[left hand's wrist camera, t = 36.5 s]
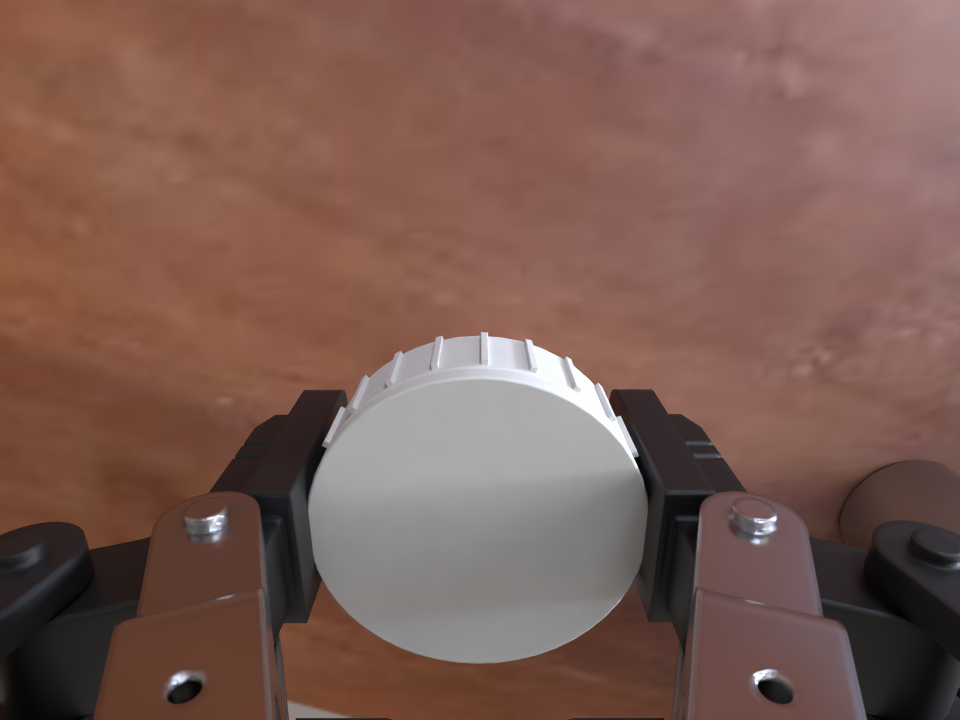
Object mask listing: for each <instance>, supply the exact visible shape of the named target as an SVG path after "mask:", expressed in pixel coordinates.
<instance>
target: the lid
mask: <svg viewBox="0 0 960 720" xmlns="http://www.w3.org/2000/svg"><path fill="white" fill-rule="evenodd" d="M322 446H323V447H325V448H327V449H326V451H325V454H324V456H323V458H322V460H321V462H320V464H319V466H318V469H317V471H316V473H315V475H314V478H313V481H312V485H311V488H310V492H309V496H308V513H309V522H310V530H311V538H312V547H313V555H314V562H315V565H316V568H317V570H318V572H319V574H320V576H321V578H322V580H323V582H324V584H325V586H326V587H327V589H328V590H329V591H330V593H331V594H332V596H333V597H334V598H335V600H336V601H337V602H338V603H339V604H340V605H341V606H342V608H343V609H344V610H345V611H346V612H347V613H348V614H349V615H350V616H351V617H352V618H354V619H355V620H356V621H357V622H358V623H360V624H361V625H362V626H363V627H364V628H366V629H367V630H369V631H370V632H372V633H374V634H375V635H377V636H378V637H380V638H381V639H383V640H385V641H387V642H389V643H391V644H393V645H395V646H397V647H399V648H402V649H405V650H407V651H410V652H413V653H415V654H418V655H422V656H426V657H430V658H434V659H438V660H444V661H451V662H458V663H476V664H479V663H499V662H506V661H513V660H519V659H523V658H527V657H531V656H535V655H538V654H541V653H544V652H547V651H549V650H552V649H555V648H557V647H559V646H561V645H563V644H565V643H567V642H569V641H572V640H574V639H575V638H577V637H578V636H580V635H581V634H583V633H585V632H586V631H588V630H589V629H591V628H592V627H593V626H594V625H596V624H597V623H598V622H599V621H601V620H602V619H603V618H604V617H605V616H606V615H607V614H608V613H609V612H610V611H611V610H612V609H613V608H614V607H615V606H616V605H617V604H618V603H619V602H620V600H621V599H622V597H623V596H624V595H625V593H626V592H627V591H628V589H629V588H630V586H631V584H632V582H633V581H634V579H635V577H636V575H637V573H638V571H639V569H640V566H641V563H642V557H643V549H644V541H645V532H646V523H647V515H648V495H647V492H646V488H645V484H644V481H643V478H642V475H641V473H640V471H639V469H638V466H637V464H636V462H635V460H634V458H635V457H638V456H639V455H638V452H637V450H636V448H635V446H634V444H633V442H632V439H631V437H630V435H629V433H628V431H627V429H626V427H625V425H624V422H623V420H622V418H621V416H618V417H615V415H614V412H613V410H612V408H611V406H610V403H609V401H608V399H607V397H606V395H605V392H604V390H603V388H602V386H601V385H600V384H599V383H598V384H596V385H595V386H594V384H593V383H592V382H591V381H590V380H589V379H588V378H587V377H586V376H584V375H583V374H582V373H581V372H580V371H579V370H578V369H576V368H575V367H574V366H573V363H572V361H571V359H569V358H568V357H565V358H564V360H563V359H562V358H560V357H558V356H556V355H554V354H552V353H550V352H548V351H546V350H544V349H542V348H539V347H536V346H533V344H532V341H531V340H528V339H525V342H521V341H516V340H511V339H506V338H501V337H488V333H487V332H481V336H469V337H456V338H451V339H445V340H443V336H440V337H436V340H435V342H433V343H429V344H426V345H423V346H420V347H417V348H415V349H413V350H411V351H409V352H406V353H404V354H402V352H401V351H399V352H397V353H395V355H394V358H393V360H392V361H390V362H389V363H387V364H386V365H384V366H383V367H382V368H380V369H379V370H378V371H377V372H376V373H374V374H373V375H372V376H371V377H370V378H369V377H367V376H366V375H365V376H364V377H363V378H362V380H361V382H360V384H359V386H358V388H357V391H356V393H355V395H354V396H353V398H352V399H351V401H350V402H349V404H348V405H347V407H346V409H345V408H343V407H340V409H339V411H338V413H337V415H336V417H335V419H334V421H333V424H332V426H331V428H330V430H329V432H328V434H327V436H326V438H325V440H324V442H323V444H322Z"/></svg>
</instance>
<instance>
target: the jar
mask: <svg viewBox="0 0 960 720" xmlns="http://www.w3.org/2000/svg"><path fill="white" fill-rule="evenodd" d="M897 520H907V521H916V522H922V523H927V524H931V525H934V526H938V527H941V528H944V529H947V530H950V531H952V532H954V533H957V534H959V535H960V476H959V475H958V474H956V473H955V472H954V471H952V470H951V469H949V468H948V467H946V466H944V465H941V464H939V463H935V462H930V461H922V460H921V461H906V462H901V463H897V464H894V465H891V466H888V467H886V468H883V469H881V470H879V471H877V472H876V473H874V474H872V475H871V476H869V477H868V478H867V479H865V480H864V481H863V482H862V483H861V484H859V485H858V486H857V488H856V489H855V490H854V491H853V492H852V493H851V495H850V496H849V497H848V499H847V501H846V503H845V505H844V507H843V510H842V513H841V517H840V531H841V535H842V538H843V540H844V542H845V544H846V545H848V546H853V547H858V548H864V549H868V548H869V545H870V541H871V538H872V534H873V532H874V530H875V528H876V527H877V526H878V525H880V524H882V523H885V522H889V521H897Z"/></svg>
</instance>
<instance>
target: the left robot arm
mask: <svg viewBox="0 0 960 720" xmlns="http://www.w3.org/2000/svg"><path fill="white" fill-rule="evenodd" d="M609 403H610V406H611V408H612V410H613V412H614V415H615V417H618V416H621V418H622V420H623V422H624V425H625V427H626V429H627V431H628V433H629V435H630V437H631V439H632V442H633V444H634V446H635V448H636V450H637V452H638V455H639V456H638V457H635V458H634V460H635V462H636V464H637V466H638V469H639V471H640V473H641V475H642V478H643V481H644V484H645V488H646V492H647V495H648V515H647V523H646V532H645V541H644V549H643V557H642V563H641V566H640V569H639V571H638V573H637V575H636V577H635V582H636V585H637V588H638V591H639V594H640V597H641V600H642V603H643V606H644V609H645V612H646V615H647V618H648V621H649V622H673V624H674V627H675V630H676V632H677V635H678V638H679V640H680V642H679V649H678V655H677V665H676V675H675V685H674V695H673V705H672V715H671V720H960V698H959V697H958V696H957V695H956V693H957V691H958V688H959V686H960V535H959V534H957V533H954V532H952V531H950V530H947V529H944V528H941V527H938V526H934V525H931V524H927V523H922V522H916V521H907V520H897V521H889V522H885V523H882V524H880V525H878V526H877V527H876V528H875V530H874V532H873V534H872V538H871V541H870V545H869V548H868V549H864V548H858V547H853V546H848V545H843V544H838V543H833V542H828V541H823V540H818V539H814V538H810V537H809V534H808V530H807V527H806V524H805V523H804V521H803V520H802V519H801V517H800V516H799V515H798V514H797V513H795V512H794V511H793V510H792V509H790V508H788V507H787V506H785V505H784V504H782V503H780V502H778V501H775V500H773V499H771V498H768V497H765V496H762V495H758V494H753V493H748V492H746V490H745V489H744V487H743V486H742V485H741V483H740V482H739V480H738V479H737V477H736V476H735V475H734V473H733V472H732V470H731V469H730V468H729V466H728V465H727V463H726V462H725V460H724V459H723V458H721V455H720V453H719V452H718V451H717V449H716V448H715V446H714V445H712V442H711V441H710V439H709V438H708V436H707V435H706V434H705V432H704V431H703V429H702V428H701V427H700V426H698V425H697V424H695V423H694V422H692V421H690V420H689V419H687V418H686V417H684V416H683V415H681V414H668V413H667V412H666V410H665V409H664V407H663V405H662V404H661V402H660V401H659V399H658V397H657V396H656V394H655V393H654V391H653V390H634V389H614V390H612V392H611V394H610V399H609ZM347 405H348V401H347V396H346V393H345V391H344V390H304V391H303V392H302V394H301V395H300V397H299V399H298V400H297V402H296V403H295V405H294V406H293V408H292V410H291V411H290V413H289V414H288V415H275V416H273V417H272V418H270V419H268V420H267V421H265V422H264V423H262V424H261V425H259V426H257V427H256V428H255V429H254V430H253V432H252V433H251V434H250V436H249V437H248V439H247V440H246V441H245V443H244V446H242V447H241V448H240V450H239V451H238V453H237V454H236V455H235V459H233V460H232V461H231V462H230V464H229V465H228V467H227V468H226V469H225V471H224V472H223V474H222V475H221V476H220V478H219V479H218V481H217V482H216V483H215V485H214V486H213V488H212V489H211V490H210V492H209V493H207V494H202V495H198V496H195V497H192V498H189V499H187V500H185V501H182V502H180V503H178V504H176V505H175V506H173V507H172V508H170V509H168V510H167V511H166V512H165V513H163V514H162V515H161V516H160V517H159V519H158V520H157V521H156V523H155V524H154V527H153V530H152V534H151V537H148V538H145V539H141V540H137V541H132V542H127V543H122V544H117V545H112V546H107V547H102V548H97V549H91V550H89V548H88V544H87V541H86V537H85V534H84V532H83V530H82V529H81V528H80V527H78V526H76V525H74V524H70V523H65V522H47V523H39V524H34V525H29V526H26V527H22V528H18V529H16V530H13V531H10V532H7V533H5V534H2V535H0V720H289V716H288V705H287V695H286V685H285V675H284V665H283V655H282V649H281V642H280V636H279V632H280V629H281V627H282V624H283V623H307V621H308V618H309V615H310V612H311V609H312V606H313V603H314V601H315V598H316V595H317V592H318V589H319V586H320V583H321V580H322V578H321V576H320V574H319V572H318V570H317V568H316V565H315V562H314V555H313V547H312V538H311V530H310V522H309V513H308V496H309V492H310V488H311V485H312V481H313V478H314V475H315V473H316V471H317V469H318V466H319V464H320V462H321V460H322V458H323V456H324V454H325V451H326V449H327V448H325V447H323V446H322V444H323V442H324V440H325V438H326V436H327V434H328V432H329V430H330V428H331V426H332V424H333V421H334V419H335V417H336V415H337V413H338V411H339V409H340V407H343V408H345V409H346V407H347ZM296 720H391V719H387V718H296ZM569 720H664V718H573V719H569Z"/></svg>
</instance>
